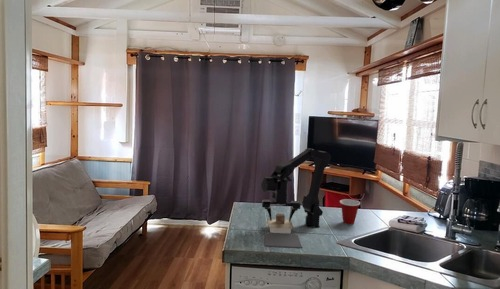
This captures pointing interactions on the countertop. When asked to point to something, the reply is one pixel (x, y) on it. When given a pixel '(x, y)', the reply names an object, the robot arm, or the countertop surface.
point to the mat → (282, 240)
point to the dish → (280, 230)
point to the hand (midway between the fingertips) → (280, 221)
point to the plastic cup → (349, 210)
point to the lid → (279, 222)
